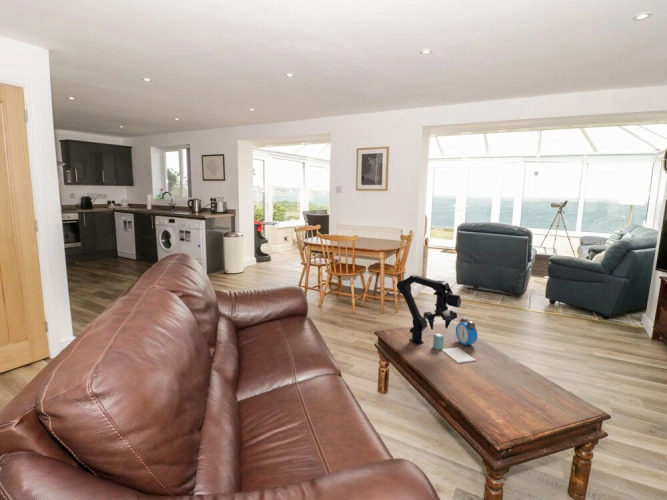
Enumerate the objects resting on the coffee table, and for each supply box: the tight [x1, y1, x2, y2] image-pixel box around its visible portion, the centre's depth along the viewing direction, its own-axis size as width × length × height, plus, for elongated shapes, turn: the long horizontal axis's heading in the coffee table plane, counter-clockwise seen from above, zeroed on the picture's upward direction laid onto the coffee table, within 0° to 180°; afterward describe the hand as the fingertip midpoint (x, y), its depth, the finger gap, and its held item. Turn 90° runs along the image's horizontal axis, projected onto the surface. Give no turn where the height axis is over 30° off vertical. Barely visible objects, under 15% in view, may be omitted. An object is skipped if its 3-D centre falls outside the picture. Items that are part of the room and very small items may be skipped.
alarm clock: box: [455, 317, 478, 346], centre depth 215 cm, size 13×6×15 cm, turn 17°
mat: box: [441, 347, 476, 364], centre depth 201 cm, size 16×11×1 cm
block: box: [432, 333, 445, 351], centre depth 209 cm, size 4×4×8 cm
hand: (439, 329), depth 208 cm, fingers open, 9 cm apart
